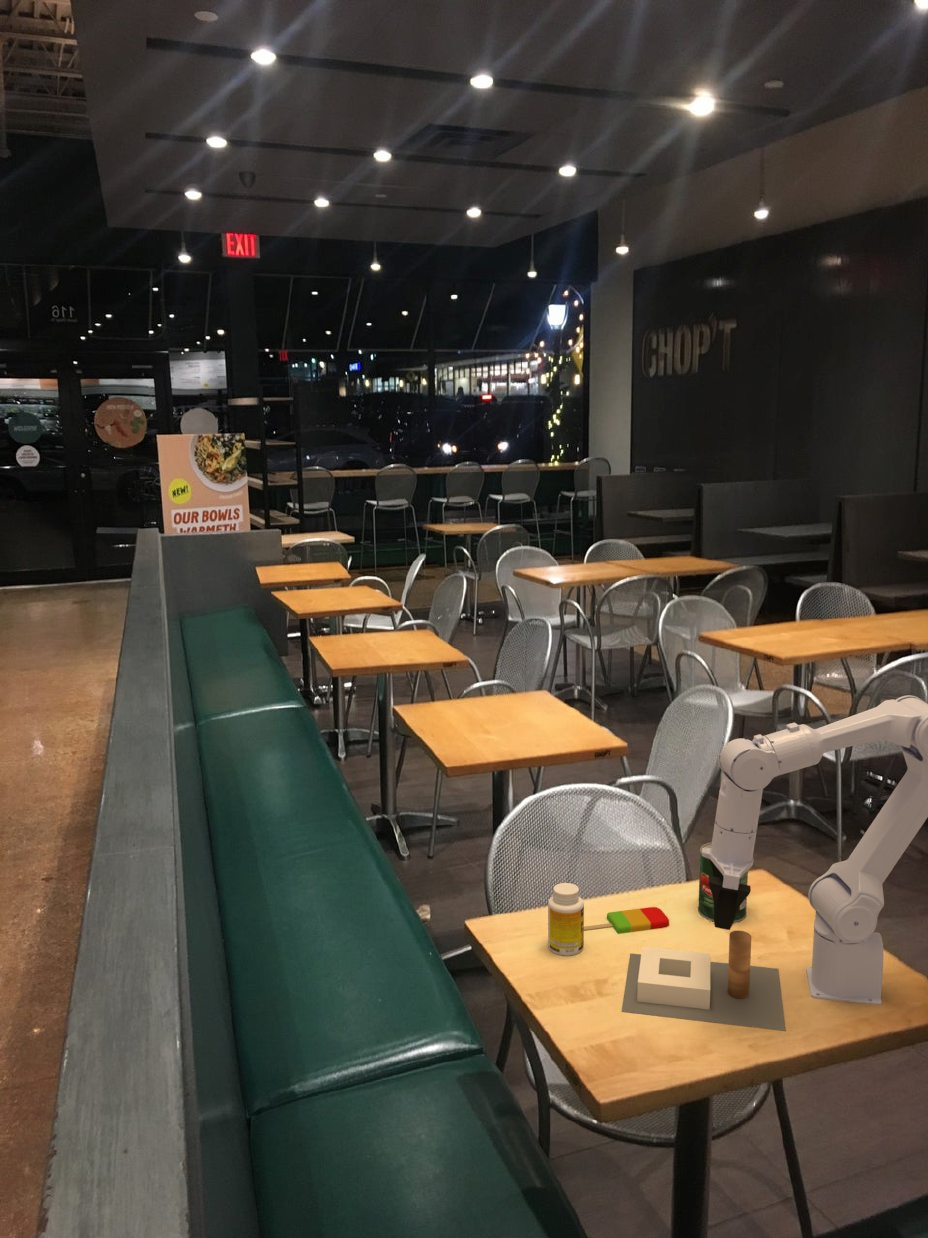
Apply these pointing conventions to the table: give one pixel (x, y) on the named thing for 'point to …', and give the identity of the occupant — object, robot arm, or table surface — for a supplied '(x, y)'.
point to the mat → (718, 999)
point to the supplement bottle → (566, 920)
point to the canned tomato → (705, 893)
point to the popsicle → (634, 920)
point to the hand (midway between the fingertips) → (722, 915)
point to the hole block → (674, 978)
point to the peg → (739, 964)
